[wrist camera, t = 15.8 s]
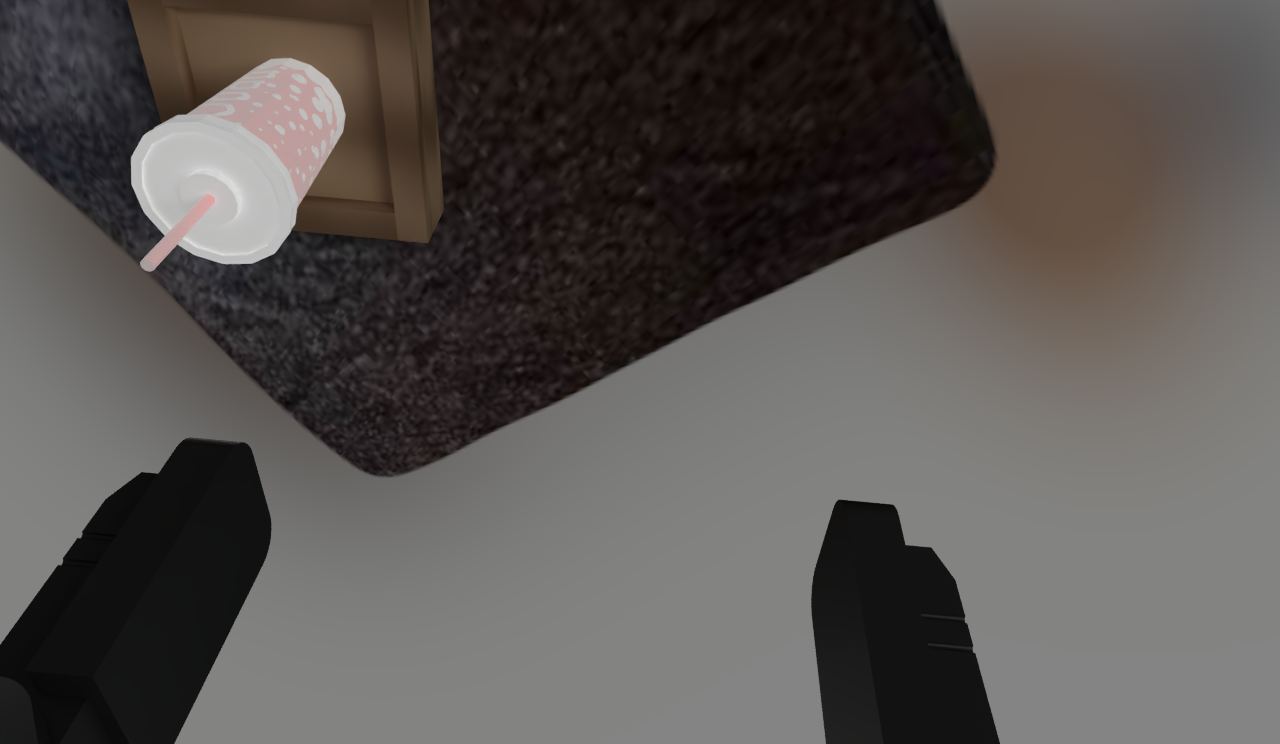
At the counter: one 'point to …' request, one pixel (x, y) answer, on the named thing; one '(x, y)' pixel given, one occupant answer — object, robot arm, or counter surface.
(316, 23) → the base plinth
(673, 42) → the counter surface
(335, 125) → the beverage cup
